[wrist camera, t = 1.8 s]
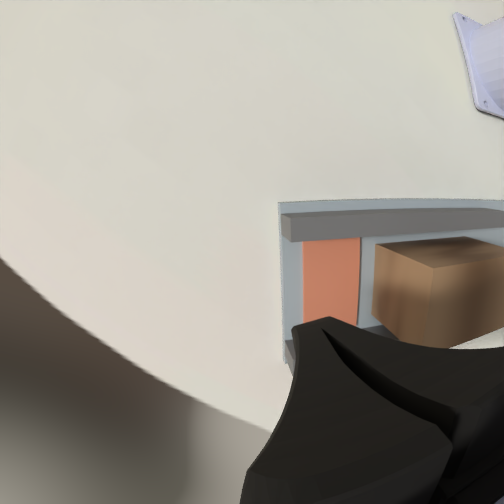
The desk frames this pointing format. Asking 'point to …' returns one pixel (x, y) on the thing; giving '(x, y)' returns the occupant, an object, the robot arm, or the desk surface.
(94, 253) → the desk surface
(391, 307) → the walnut block
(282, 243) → the trough
